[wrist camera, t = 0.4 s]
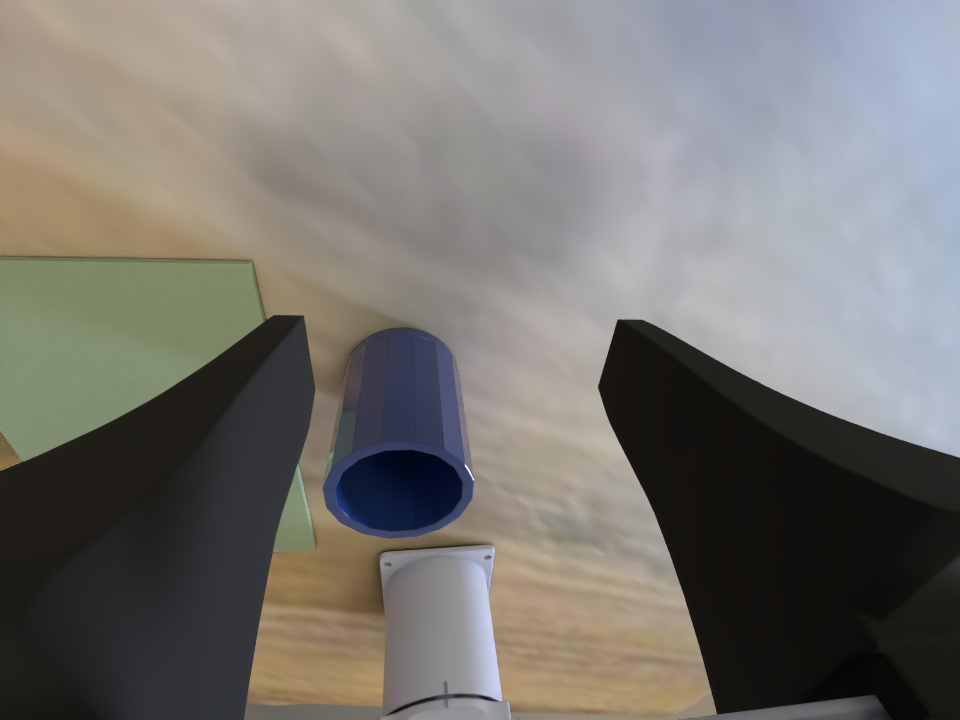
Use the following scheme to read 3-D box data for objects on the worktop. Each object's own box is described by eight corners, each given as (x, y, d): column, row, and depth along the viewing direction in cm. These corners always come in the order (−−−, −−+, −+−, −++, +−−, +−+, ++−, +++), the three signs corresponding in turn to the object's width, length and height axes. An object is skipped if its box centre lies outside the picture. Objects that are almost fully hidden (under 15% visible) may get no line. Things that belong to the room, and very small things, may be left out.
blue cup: (455, 413, 25) (469, 533, 19) (352, 416, 24) (332, 542, 18) (459, 327, 22) (478, 438, 16) (341, 327, 21) (313, 444, 15)
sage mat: (317, 544, 30) (316, 550, 30) (100, 559, 28) (96, 565, 28) (252, 260, 19) (249, 264, 19) (-117, 254, 17) (-127, 258, 17)
